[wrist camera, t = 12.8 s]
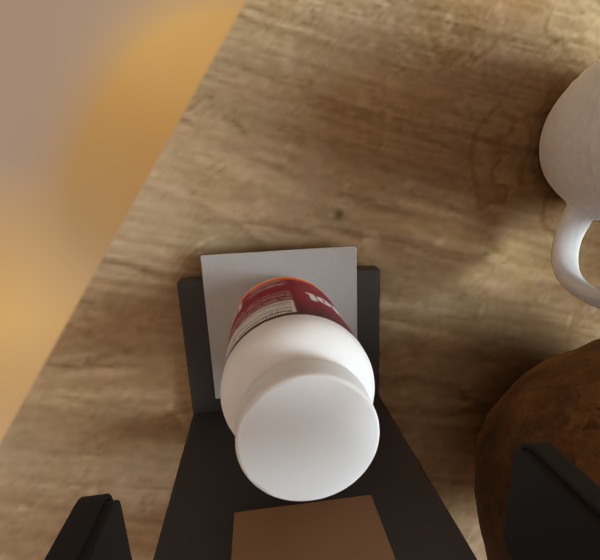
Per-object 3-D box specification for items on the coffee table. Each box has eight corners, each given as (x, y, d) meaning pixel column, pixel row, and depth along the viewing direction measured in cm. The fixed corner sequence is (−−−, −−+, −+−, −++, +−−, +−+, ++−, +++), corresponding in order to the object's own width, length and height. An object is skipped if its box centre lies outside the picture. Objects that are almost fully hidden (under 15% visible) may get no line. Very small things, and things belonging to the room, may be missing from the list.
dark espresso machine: (177, 253, 22) (-408, 728, 3) (375, 241, 23) (979, 506, 4) (215, 567, 28) (121, 1453, 8) (373, 544, 29) (613, 1268, 9)
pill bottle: (351, 341, 23) (432, 470, 13) (263, 387, 23) (269, 554, 13) (306, 254, 22) (356, 317, 11) (212, 303, 22) (170, 414, 11)
